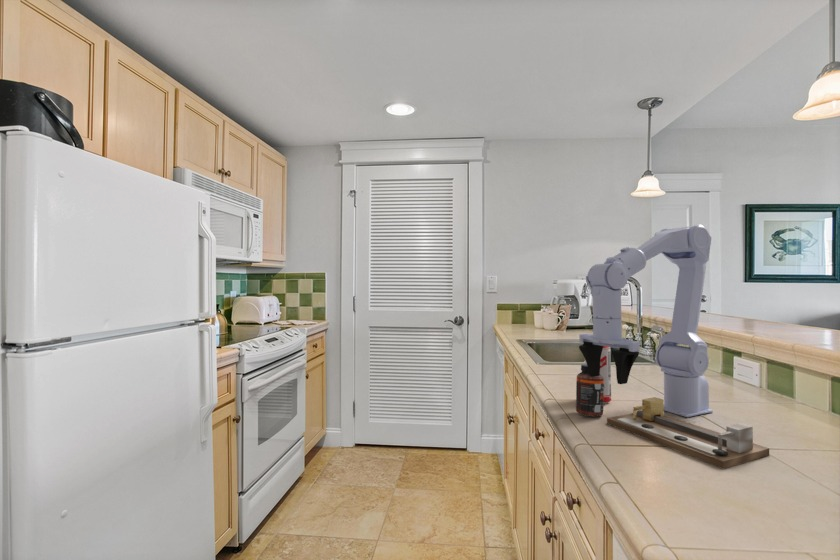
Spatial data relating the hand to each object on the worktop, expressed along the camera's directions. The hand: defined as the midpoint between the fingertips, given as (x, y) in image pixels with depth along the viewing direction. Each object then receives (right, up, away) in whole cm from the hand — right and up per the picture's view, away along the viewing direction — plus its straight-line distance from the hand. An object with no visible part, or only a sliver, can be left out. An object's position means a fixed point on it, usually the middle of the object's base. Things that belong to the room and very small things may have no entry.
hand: (608, 379), depth 91 cm
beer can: (+5, -10, +16) cm, 20 cm away
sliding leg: (+7, -8, -2) cm, 11 cm away
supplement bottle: (-2, -10, +6) cm, 11 cm away
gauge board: (+10, -10, -9) cm, 17 cm away
